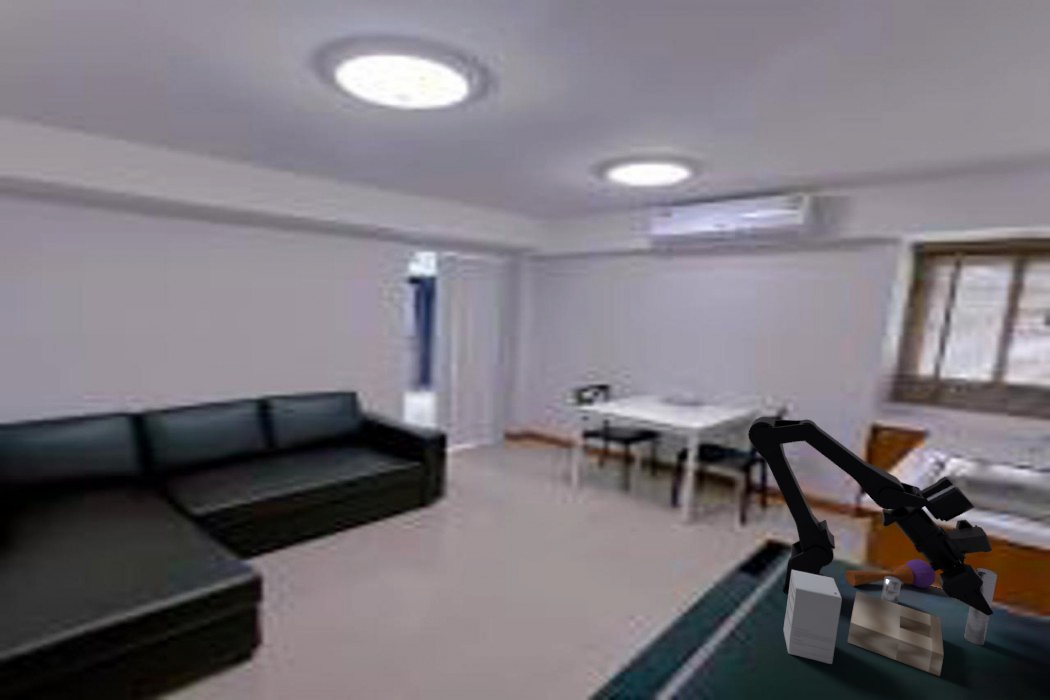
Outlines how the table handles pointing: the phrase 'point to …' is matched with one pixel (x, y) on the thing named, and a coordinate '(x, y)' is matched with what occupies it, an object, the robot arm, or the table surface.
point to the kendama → (897, 575)
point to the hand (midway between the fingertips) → (983, 602)
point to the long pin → (976, 618)
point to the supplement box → (812, 616)
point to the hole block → (897, 632)
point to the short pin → (891, 589)
